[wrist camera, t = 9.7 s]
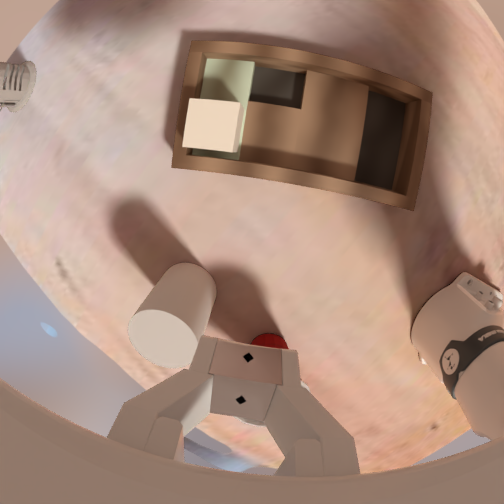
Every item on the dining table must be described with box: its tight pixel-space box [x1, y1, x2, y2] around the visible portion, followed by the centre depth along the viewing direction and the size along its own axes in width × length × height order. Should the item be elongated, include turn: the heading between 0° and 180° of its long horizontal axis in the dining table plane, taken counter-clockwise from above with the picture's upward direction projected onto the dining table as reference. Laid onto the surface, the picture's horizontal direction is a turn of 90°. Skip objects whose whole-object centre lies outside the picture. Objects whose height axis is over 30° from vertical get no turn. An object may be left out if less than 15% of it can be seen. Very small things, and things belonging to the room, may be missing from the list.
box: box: [171, 41, 432, 211], centre depth 28 cm, size 28×15×4 cm, turn 82°
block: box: [182, 98, 245, 153], centre depth 27 cm, size 5×5×5 cm
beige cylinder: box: [128, 263, 217, 368], centre depth 33 cm, size 8×8×12 cm
